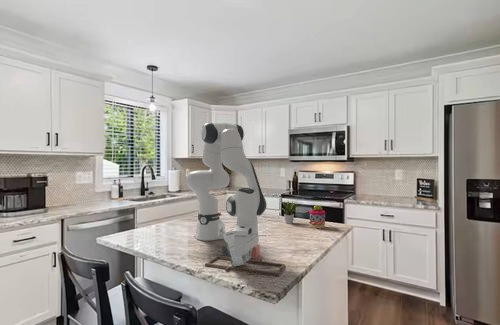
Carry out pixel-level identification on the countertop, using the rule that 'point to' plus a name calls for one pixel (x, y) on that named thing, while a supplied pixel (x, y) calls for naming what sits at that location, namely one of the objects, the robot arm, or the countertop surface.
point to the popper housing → (224, 250)
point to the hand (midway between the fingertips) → (247, 260)
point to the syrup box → (234, 258)
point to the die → (255, 251)
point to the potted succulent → (317, 217)
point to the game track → (245, 268)
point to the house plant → (289, 212)
